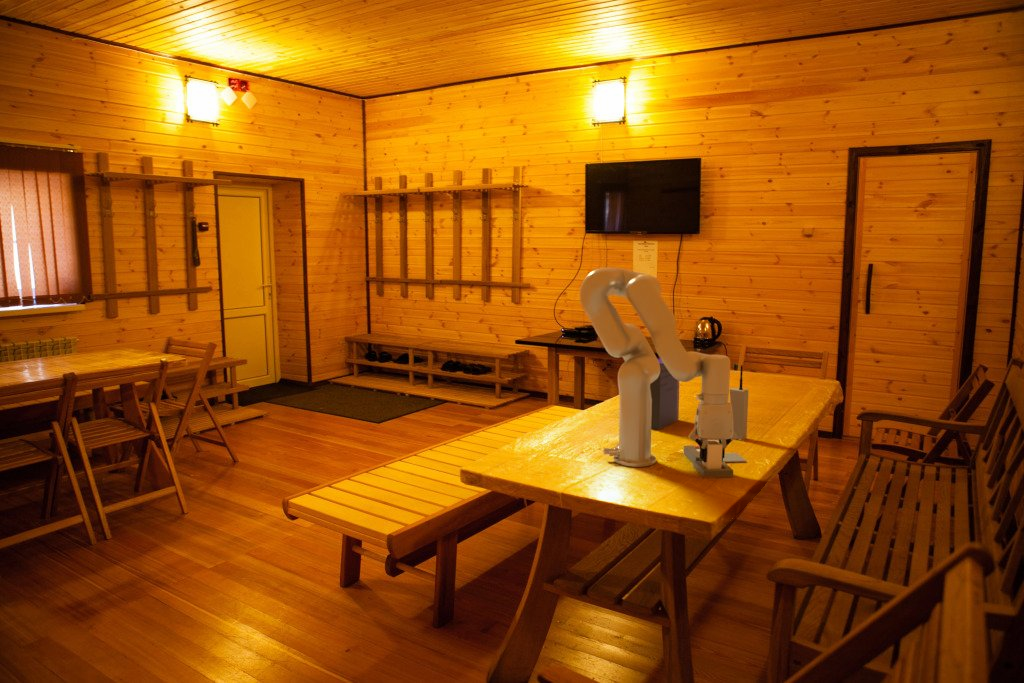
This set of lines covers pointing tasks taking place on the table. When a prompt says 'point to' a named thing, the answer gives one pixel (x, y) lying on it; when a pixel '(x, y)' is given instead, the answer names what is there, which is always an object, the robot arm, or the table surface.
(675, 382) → the cereal box
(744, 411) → the vintage mobile phone
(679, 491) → the table surface
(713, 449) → the plug
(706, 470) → the charging dock
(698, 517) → the table surface
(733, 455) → the rubber mat
